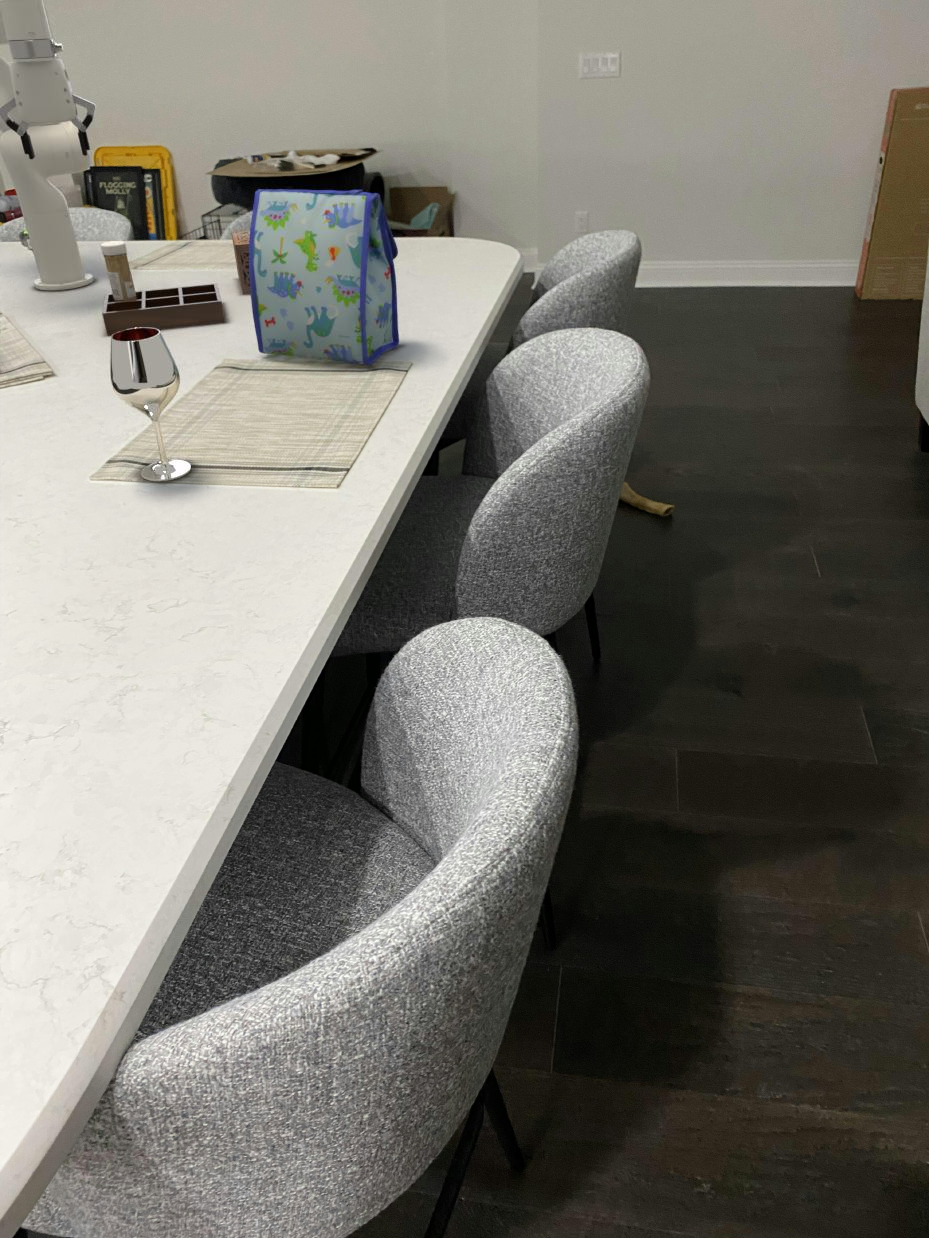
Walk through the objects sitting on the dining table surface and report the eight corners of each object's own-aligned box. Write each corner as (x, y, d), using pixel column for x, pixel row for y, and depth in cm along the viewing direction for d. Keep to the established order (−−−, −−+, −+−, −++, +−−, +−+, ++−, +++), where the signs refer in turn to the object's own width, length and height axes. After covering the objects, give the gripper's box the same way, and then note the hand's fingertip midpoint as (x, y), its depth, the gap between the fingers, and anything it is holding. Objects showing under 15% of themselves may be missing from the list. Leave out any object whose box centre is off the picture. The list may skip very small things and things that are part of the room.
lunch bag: (408, 340, 166) (398, 182, 151) (371, 370, 153) (355, 200, 138) (298, 333, 172) (278, 179, 158) (253, 361, 159) (226, 197, 145)
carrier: (110, 315, 187) (105, 294, 185) (220, 303, 192) (217, 283, 189) (107, 335, 175) (102, 313, 173) (225, 322, 180) (221, 301, 177)
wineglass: (141, 460, 125) (109, 326, 115) (202, 456, 125) (175, 323, 116) (128, 486, 118) (92, 346, 108) (193, 482, 119) (163, 342, 109)
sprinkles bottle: (143, 314, 184) (127, 242, 176) (120, 318, 182) (103, 246, 174) (136, 309, 187) (120, 239, 179) (114, 313, 185) (97, 242, 177)
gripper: (84, 49, 172) (106, 151, 182) (-15, 53, 168) (13, 157, 178) (81, 50, 166) (105, 156, 176) (-22, 55, 162) (8, 162, 172)
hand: (59, 156), depth 177 cm, fingers open, 9 cm apart
